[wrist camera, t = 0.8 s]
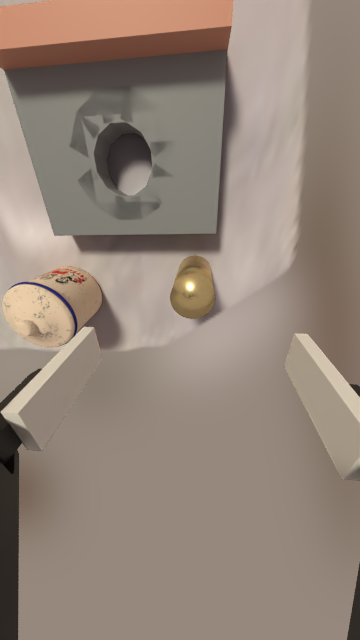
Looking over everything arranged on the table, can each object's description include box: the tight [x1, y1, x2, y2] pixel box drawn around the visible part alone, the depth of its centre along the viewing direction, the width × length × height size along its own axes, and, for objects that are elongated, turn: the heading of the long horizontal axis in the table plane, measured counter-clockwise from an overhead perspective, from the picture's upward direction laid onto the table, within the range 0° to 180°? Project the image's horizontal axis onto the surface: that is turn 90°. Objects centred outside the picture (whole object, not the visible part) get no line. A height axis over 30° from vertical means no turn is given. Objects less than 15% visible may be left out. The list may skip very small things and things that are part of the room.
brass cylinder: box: [170, 255, 215, 319], centre depth 25 cm, size 5×5×10 cm
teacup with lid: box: [2, 266, 102, 347], centre depth 28 cm, size 12×9×12 cm
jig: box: [0, 0, 233, 236], centre depth 21 cm, size 20×16×6 cm
